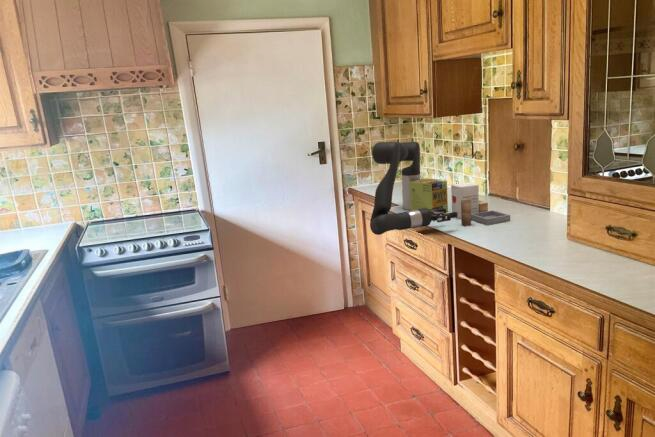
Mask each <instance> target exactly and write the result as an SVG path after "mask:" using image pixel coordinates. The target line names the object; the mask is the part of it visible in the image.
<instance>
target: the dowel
mask: <svg viewBox="0 0 655 437" xmlns="http://www.w3.org/2000/svg"><path fill="white" fill-rule="evenodd" d="M460 220H461V226H463V227H470V226H472V220H471V199H461V219H460Z"/></svg>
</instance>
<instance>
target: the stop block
mask: <svg viewBox="0 0 655 437" xmlns="http://www.w3.org/2000/svg"><path fill="white" fill-rule="evenodd" d="M485 211H489V204H488V202H487V201H482V200H479V213H480V212H485Z"/></svg>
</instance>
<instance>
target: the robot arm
mask: <svg viewBox="0 0 655 437" xmlns="http://www.w3.org/2000/svg"><path fill="white" fill-rule="evenodd" d="M371 156H372V159H373V161H374V162H375V163H376V164H378V165H388V164H389V167H388V170H387V172H386V174H384V177H383V178H382V179H381V181H380V182H379V183H378V184H377V187H376V188H375V189H376V190H375V194H374V202H373V204H374V205H373V209H372V212H371V216H370V220H369V229H370V230H371V232H372V233H373V234H374V235H377V236H380V235H383V234H385V233H387V232H390V231H404V230H409V229H419V228H423V227H428V226H430V225H431V223H432V222H437V223H443V222H448V221H450V222H451V220H452V219H454V218H457V212H452V211H451V212H447V213H446V209H445V208H444V209H438V210H437V209H433V208H432V209H427V208H422V209H416V210H411V207H410V184H409V181H412V180H418V179H421V147H420V143H419V142H418V141H406V142H401V141H378V142H377V143H375V144H374V146H373V147H372V151H371ZM400 162H412V163H411V164H410V165H409V166H406V167H404V168H402V169H401V170H400V171H401V172H400V173H401V188H402V189H401V193H402V194H401V195H402V208H403V210H408V211H404V212H398V213H389V212H390V211H391V208H392V202H393V193H394V192H393V191H394V187H395V186H394V185H395V181H396V177H397V173H398V169H399V163H400Z"/></svg>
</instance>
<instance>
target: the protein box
mask: <svg viewBox="0 0 655 437" xmlns="http://www.w3.org/2000/svg"><path fill="white" fill-rule="evenodd" d="M409 184H410V207H411V210H416V209H422V208H427V209H432V208H433V209H437V210H438V209H444V208H445V209H446V213H449V210H448V209H449V206H448V205H449V204H448V202H449V201H448V180H446V179H437V178H427V177H424V178H420V179H418V180H412V181H409Z"/></svg>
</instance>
